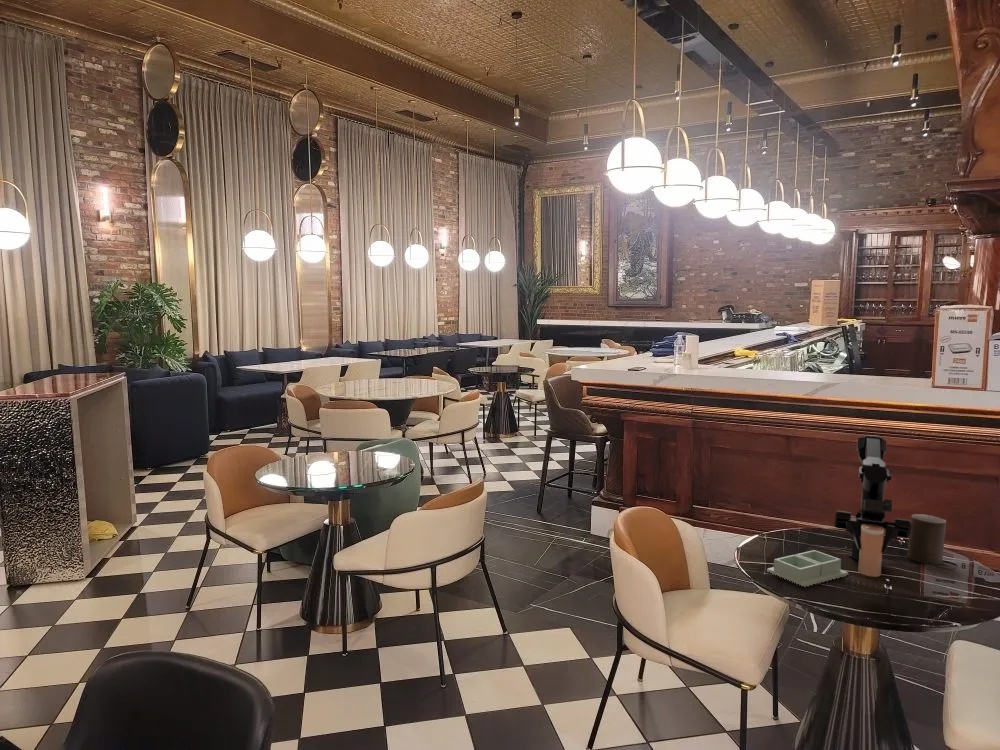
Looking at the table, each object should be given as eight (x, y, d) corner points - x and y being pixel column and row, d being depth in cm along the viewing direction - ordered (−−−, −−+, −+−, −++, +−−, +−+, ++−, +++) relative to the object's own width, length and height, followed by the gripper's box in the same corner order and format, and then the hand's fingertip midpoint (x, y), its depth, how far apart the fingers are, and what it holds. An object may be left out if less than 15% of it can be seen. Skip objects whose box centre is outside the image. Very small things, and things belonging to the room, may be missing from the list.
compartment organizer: (809, 561, 218) (810, 547, 218) (848, 575, 207) (849, 560, 207) (767, 571, 209) (767, 557, 208) (804, 587, 197) (805, 571, 197)
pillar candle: (915, 563, 219) (920, 517, 217) (901, 553, 228) (906, 508, 227) (948, 566, 217) (953, 520, 216) (933, 555, 227) (937, 511, 226)
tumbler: (871, 568, 194) (875, 523, 193) (885, 576, 189) (889, 530, 188) (853, 569, 194) (856, 524, 192) (866, 577, 188) (870, 530, 187)
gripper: (837, 482, 197) (834, 531, 188) (913, 491, 188) (914, 542, 180) (836, 503, 204) (833, 550, 196) (908, 512, 196) (909, 562, 187)
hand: (871, 551), depth 189 cm, fingers closed on tumbler, 5 cm apart
